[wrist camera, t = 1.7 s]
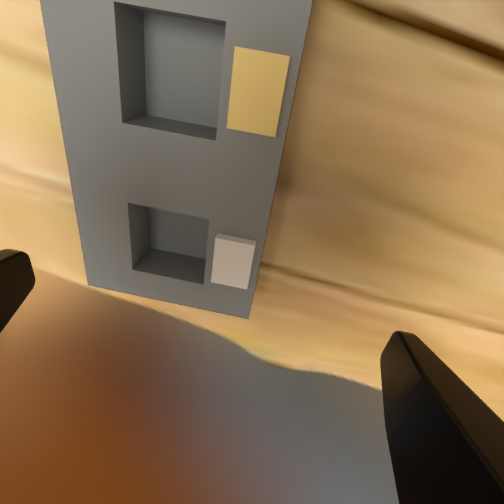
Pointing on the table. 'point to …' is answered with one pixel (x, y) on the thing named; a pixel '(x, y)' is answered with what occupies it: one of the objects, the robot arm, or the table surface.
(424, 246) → the table surface
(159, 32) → the port block
